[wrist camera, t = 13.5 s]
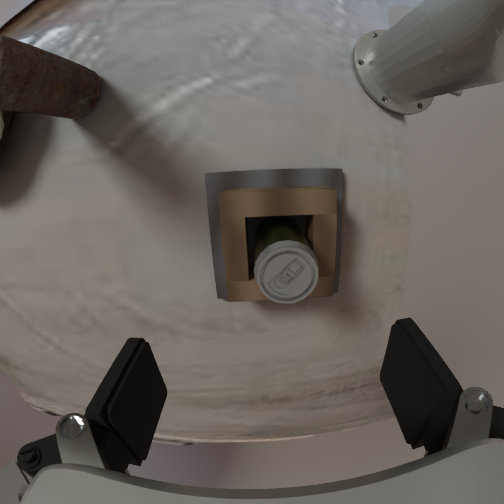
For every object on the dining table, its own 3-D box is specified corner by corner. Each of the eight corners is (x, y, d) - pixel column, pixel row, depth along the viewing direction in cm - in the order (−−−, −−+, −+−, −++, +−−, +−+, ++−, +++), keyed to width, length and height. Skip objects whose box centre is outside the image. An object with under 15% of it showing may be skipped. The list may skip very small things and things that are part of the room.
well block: (339, 168, 31) (354, 170, 26) (336, 288, 36) (347, 309, 31) (206, 173, 32) (196, 176, 26) (218, 295, 37) (212, 316, 32)
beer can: (273, 204, 32) (282, 230, 20) (309, 231, 33) (334, 269, 21) (246, 239, 33) (240, 283, 22) (281, 265, 34) (292, 317, 23)
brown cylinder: (110, 66, 26) (9, 21, 8) (102, 116, 29) (-13, 100, 10) (69, 76, 26) (-31, 52, 7) (62, 122, 29) (-47, 121, 10)
